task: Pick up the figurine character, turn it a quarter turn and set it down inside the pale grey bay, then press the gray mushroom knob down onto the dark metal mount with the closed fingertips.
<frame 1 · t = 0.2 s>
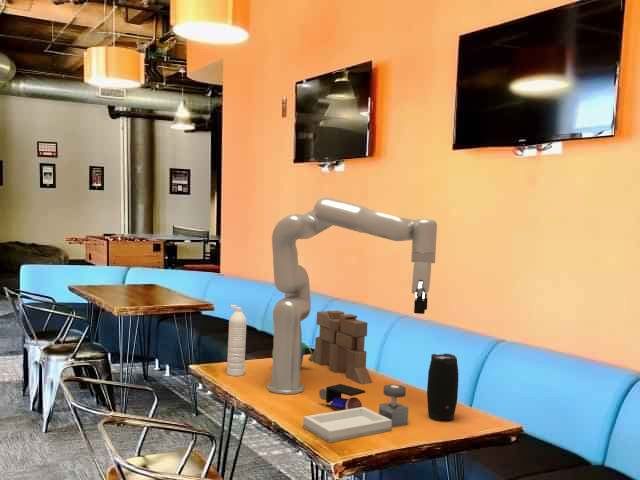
hand: (420, 311, 192), 31 cm above the table, tool pointing down, fingers open, 9 cm apart
gray mushroom knob: (392, 422, 176), resting on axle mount, slide at 0.0 cm
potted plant: (291, 370, 233), on the table
water bottle: (234, 373, 223), on the table
bay: (347, 428, 168), on the table
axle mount: (392, 422, 176), on the table
brown block wall: (338, 371, 235), on the table
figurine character: (341, 410, 186), on the table
portable speaker: (440, 418, 182), on the table
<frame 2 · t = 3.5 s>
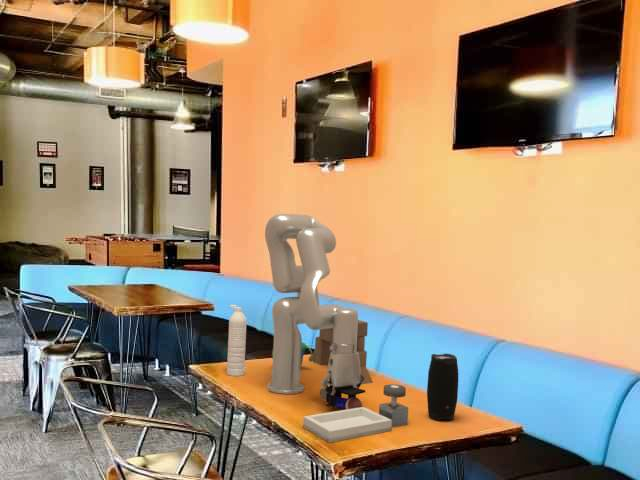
hand: (341, 404, 186), 1 cm above the table, tool pointing down, fingers closed on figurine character, 6 cm apart
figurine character: (341, 409, 186), on the table, touching gripper
everything else where it was.
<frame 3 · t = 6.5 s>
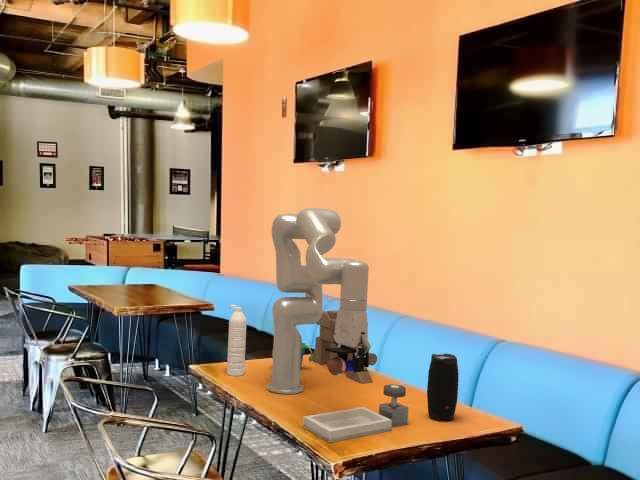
hand: (350, 368, 168), 17 cm above the table, tool pointing down, fingers closed on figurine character, 6 cm apart
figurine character: (349, 373, 168), point 16 cm above the table, touching gripper
everything else where it was.
when the fingers open (4 cm above the table, at t = 9.4 s): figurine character drops 1 cm, resting on bay.
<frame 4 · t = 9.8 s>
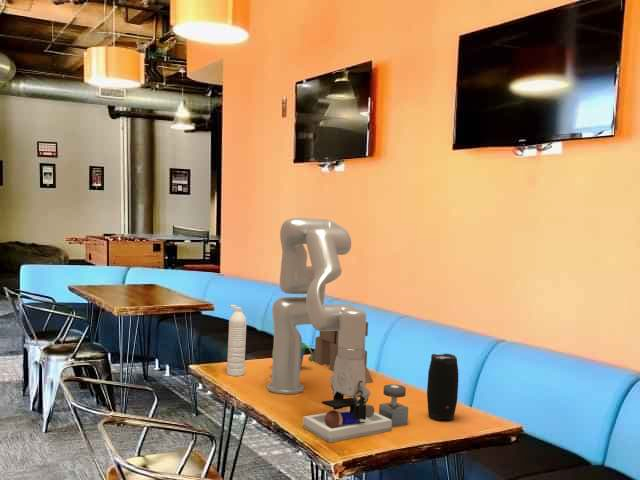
hand: (347, 413, 168), 4 cm above the table, tool pointing down, fingers open, 9 cm apart
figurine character: (347, 425, 169), point 1 cm above the table, touching bay
everything else where it was.
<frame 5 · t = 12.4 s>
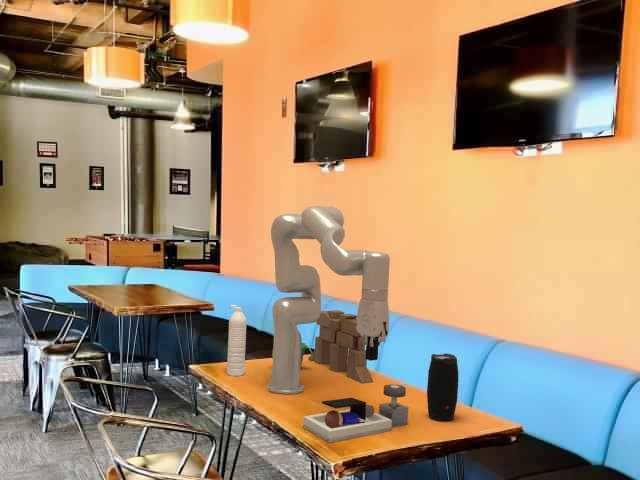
hand: (371, 359, 171), 19 cm above the table, tool pointing down, fingers closed
nothing on the table moved.
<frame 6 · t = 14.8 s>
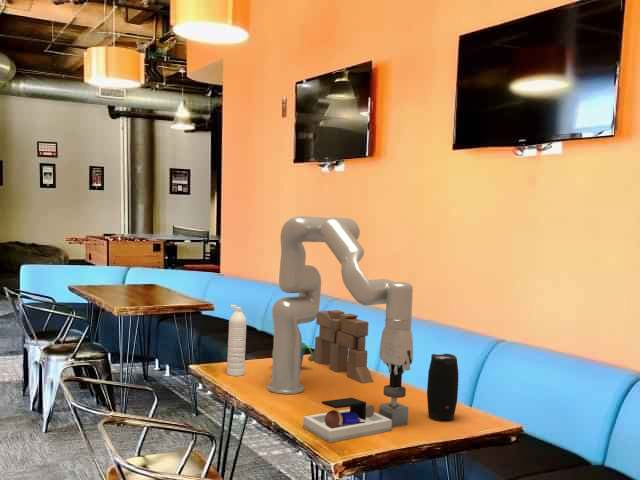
hand: (395, 386, 175), 11 cm above the table, tool pointing down, fingers closed
gray mushroom knob: (392, 423, 176), resting on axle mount, slide at -0.1 cm, touching gripper
everything else where it was.
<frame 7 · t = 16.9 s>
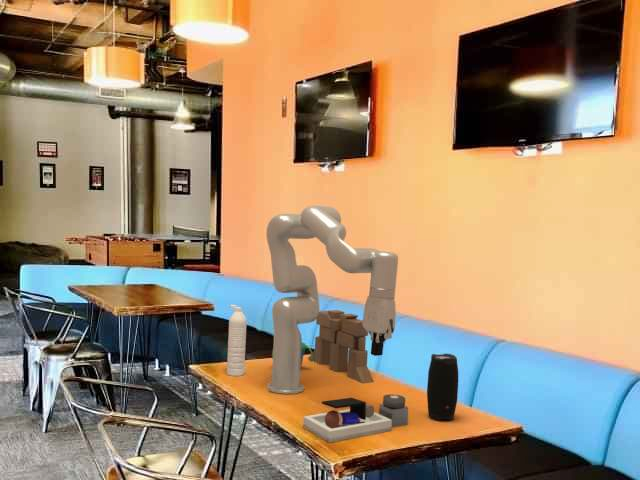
hand: (376, 354, 178), 19 cm above the table, tool pointing down, fingers closed
gray mushroom knob: (392, 432, 176), resting on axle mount, slide at -3.0 cm
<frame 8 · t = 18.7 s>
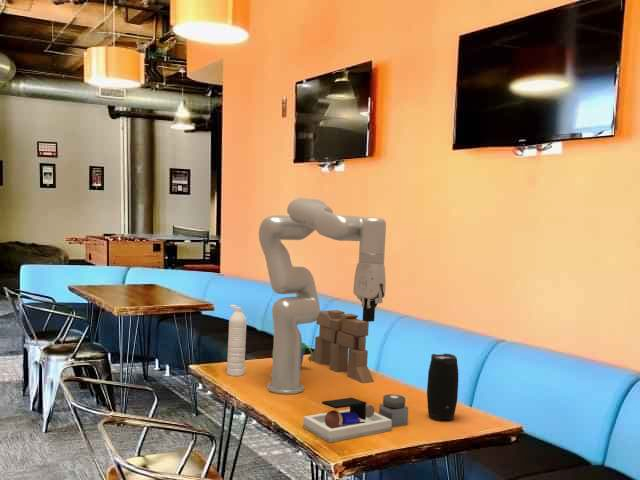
hand: (368, 321, 178), 29 cm above the table, tool pointing down, fingers closed
at the end: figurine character inside the target area on the bay (0.3 cm from its centre), point 0.8 cm above the bay's base; the gripper is holding nothing; gray mushroom knob slide at -3.0 cm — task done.
